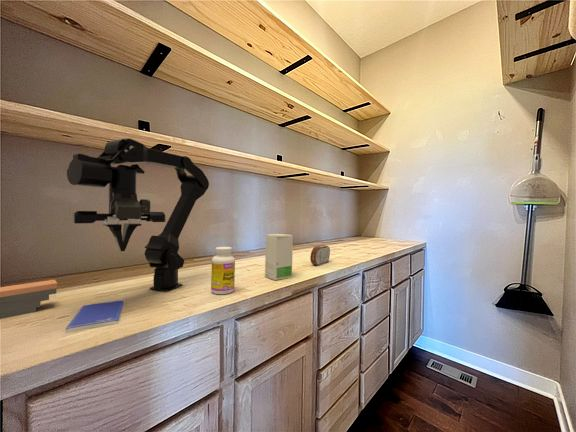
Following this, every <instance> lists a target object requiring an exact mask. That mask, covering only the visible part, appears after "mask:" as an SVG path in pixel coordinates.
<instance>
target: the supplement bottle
mask: <svg viewBox="0 0 576 432" xmlns="http://www.w3.org/2000/svg"><path fill="white" fill-rule="evenodd" d="M232 249H233V247H231V246H217V247H215V249H214V252H215V255H214V256H213V257H212V258H211V268H210V269H211V275H210V278H211V280H210V291H211V293H213V294H215V295H228V294H231V293H233V292H234V291H235V281H236V280H235V279H236V278H235V277H236V276H235V275H236V274H235V273H236V272H235V270H236V269H235V267H236V259H235V256H233V255H232V252H233V250H232Z"/></svg>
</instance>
